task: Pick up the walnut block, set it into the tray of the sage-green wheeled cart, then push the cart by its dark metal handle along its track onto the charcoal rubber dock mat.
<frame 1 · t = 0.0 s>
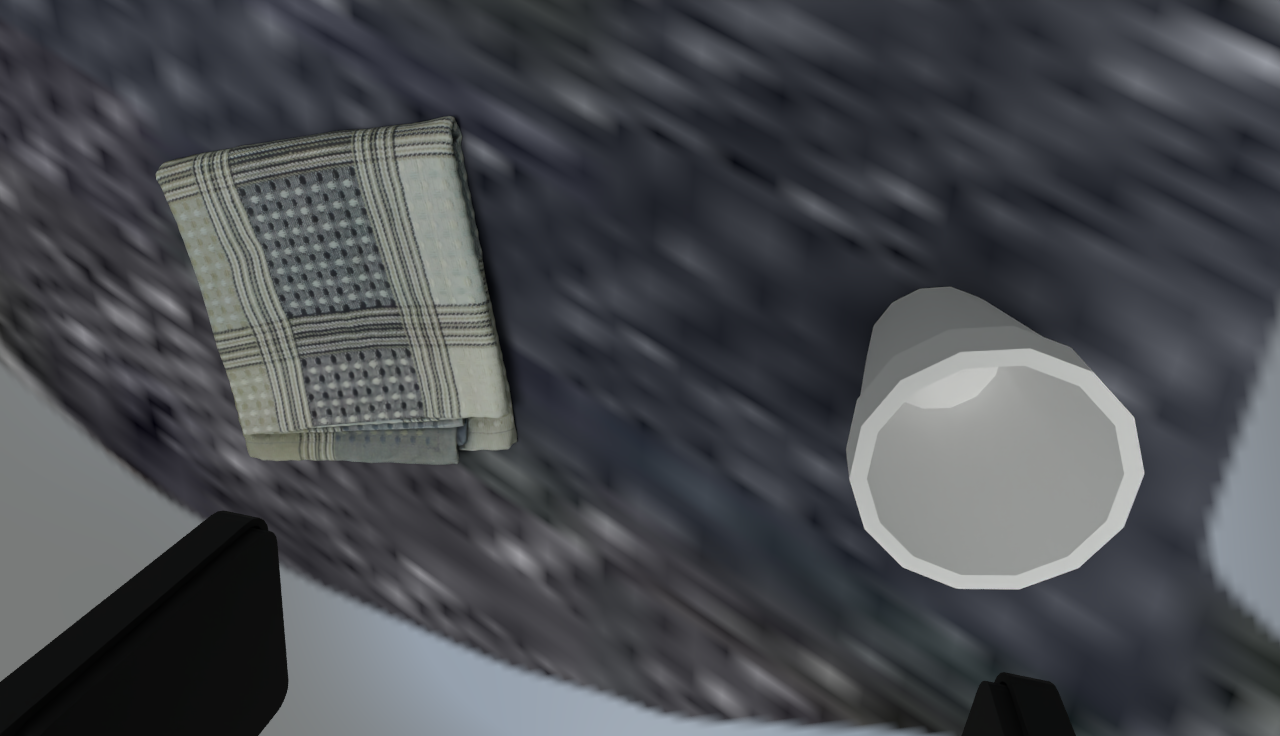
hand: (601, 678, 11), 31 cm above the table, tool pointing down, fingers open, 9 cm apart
foam cup: (934, 347, 40), on the table
dish towel: (356, 303, 46), on the table
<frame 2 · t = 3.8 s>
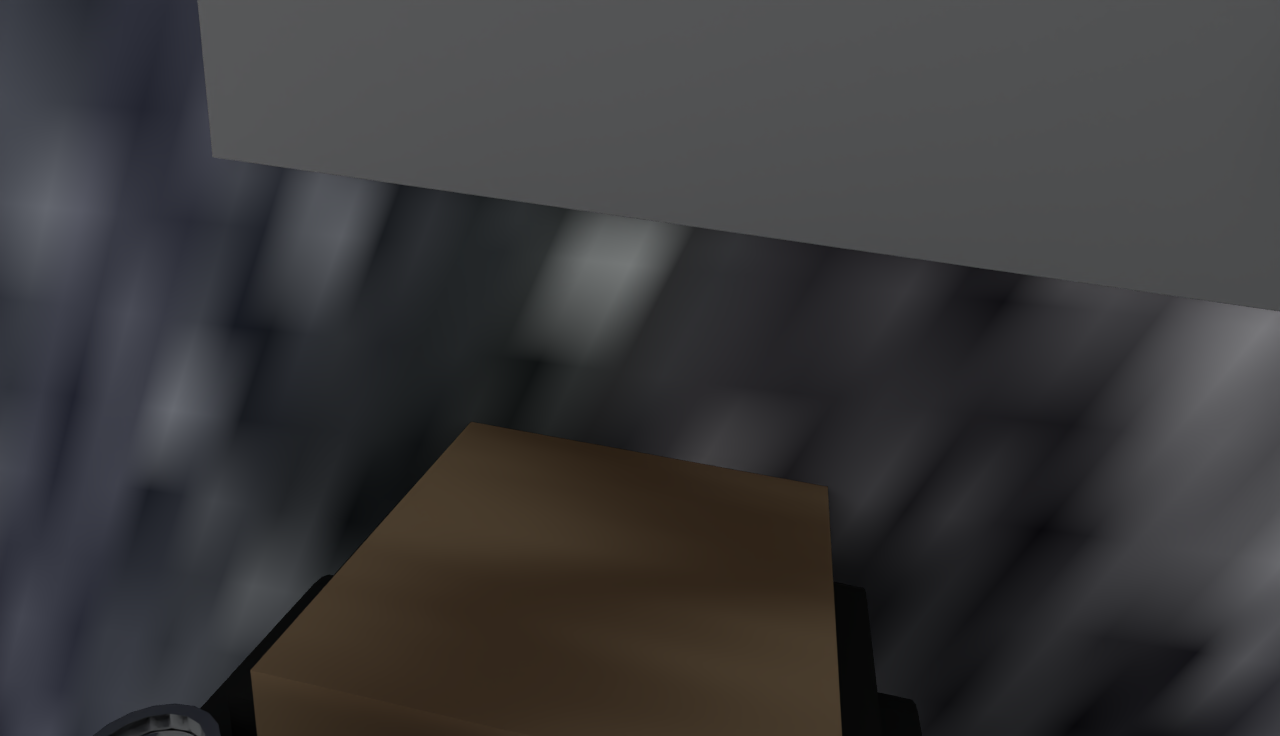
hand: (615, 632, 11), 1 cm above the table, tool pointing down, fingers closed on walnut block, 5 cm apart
walnut block: (626, 600, 12), on the table, touching gripper
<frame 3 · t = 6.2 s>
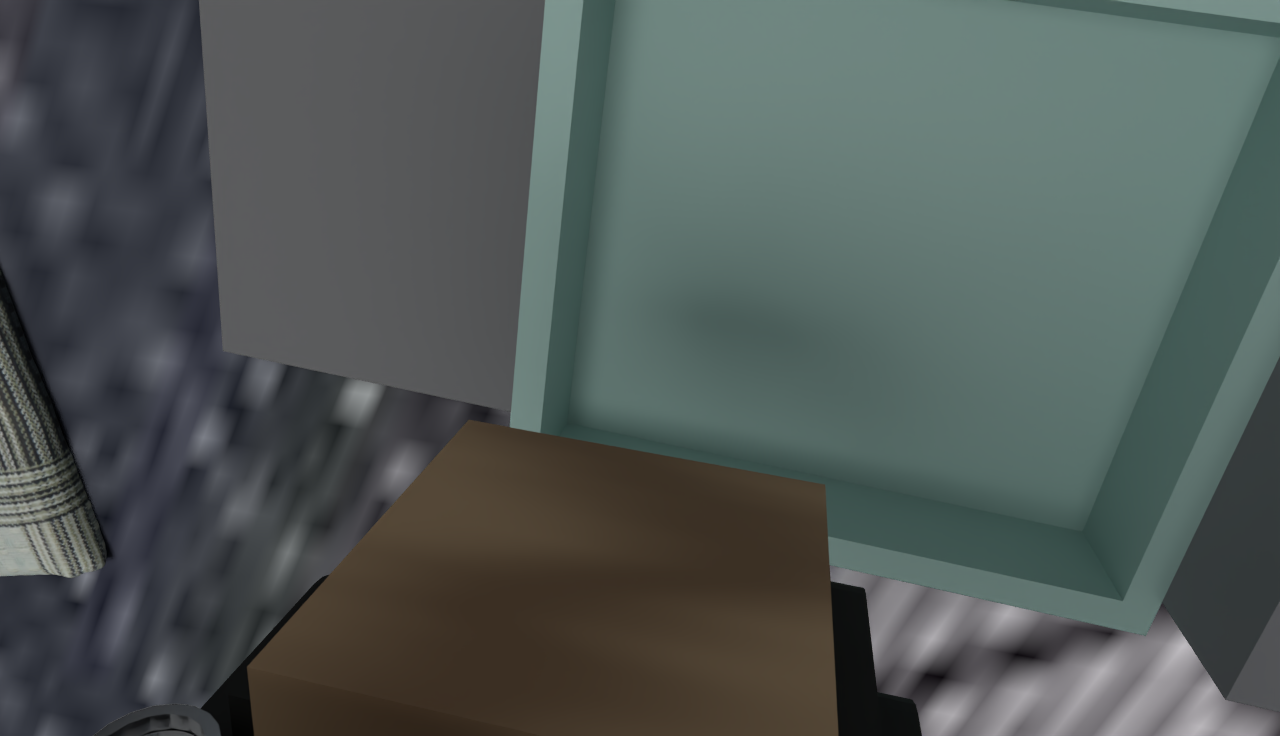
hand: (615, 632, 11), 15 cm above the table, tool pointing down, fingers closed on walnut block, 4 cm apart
dock mat: (473, 162, 25), on the table
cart: (899, 278, 19), point 5 cm above the table, slide at 0.0 cm
walnut block: (624, 598, 12), point 15 cm above the table, touching gripper
when the fingers open (6 cm above the table, at t = 8.8 s): walnut block drops 1 cm, resting on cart.
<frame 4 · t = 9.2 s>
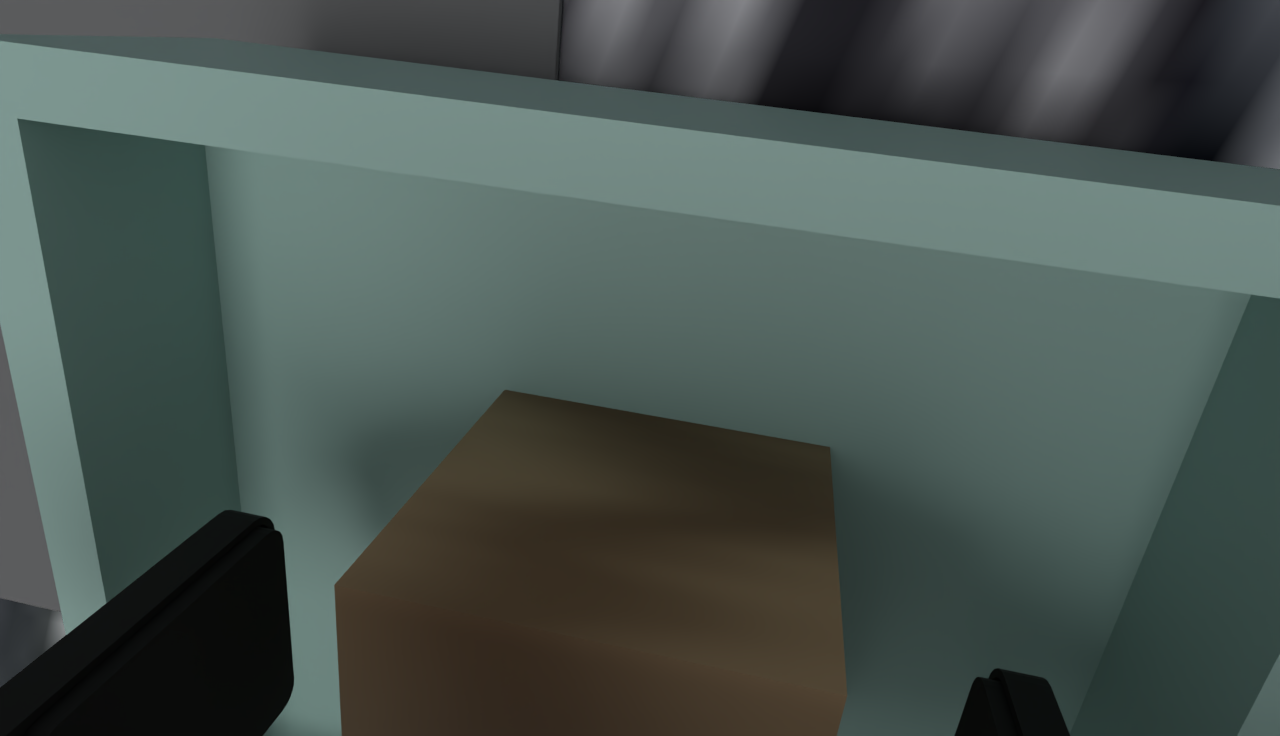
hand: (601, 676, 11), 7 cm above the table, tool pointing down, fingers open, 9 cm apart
dock mat: (155, 350, 18), on the table
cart: (665, 608, 12), point 5 cm above the table, slide at 0.0 cm, touching walnut block
walnut block: (645, 554, 13), point 4 cm above the table, touching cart
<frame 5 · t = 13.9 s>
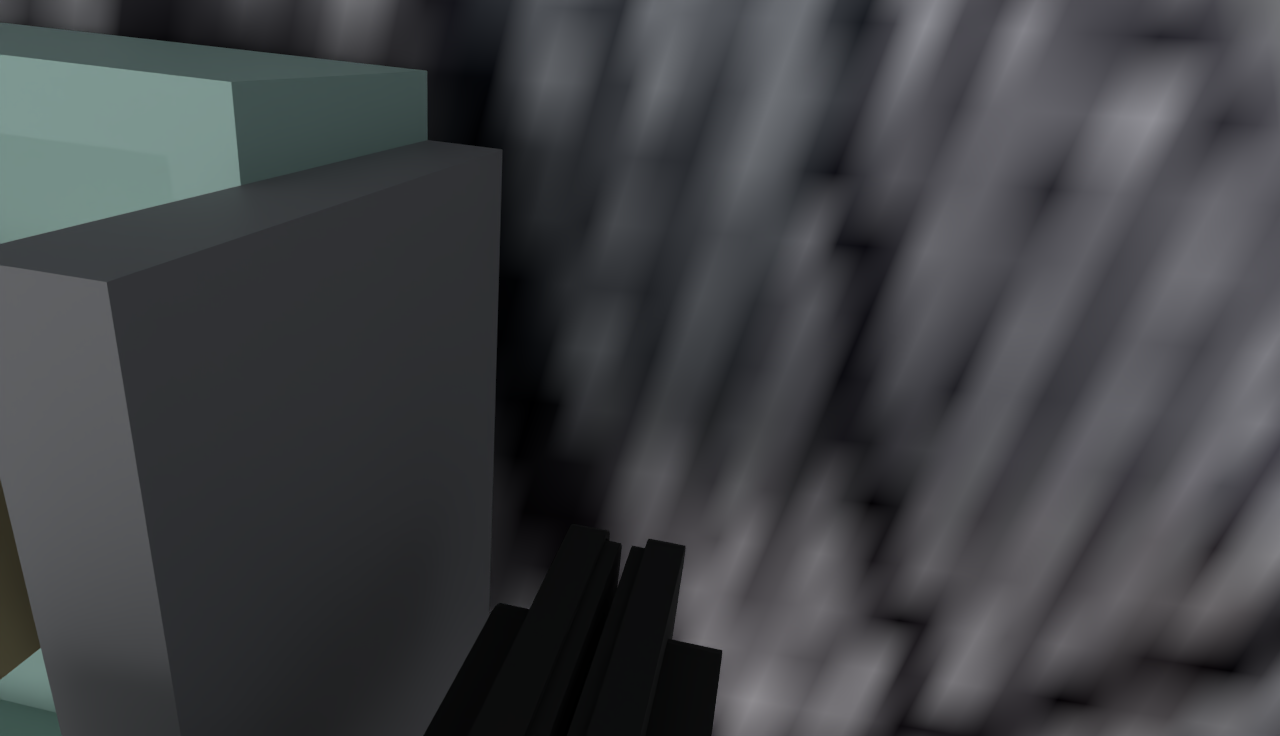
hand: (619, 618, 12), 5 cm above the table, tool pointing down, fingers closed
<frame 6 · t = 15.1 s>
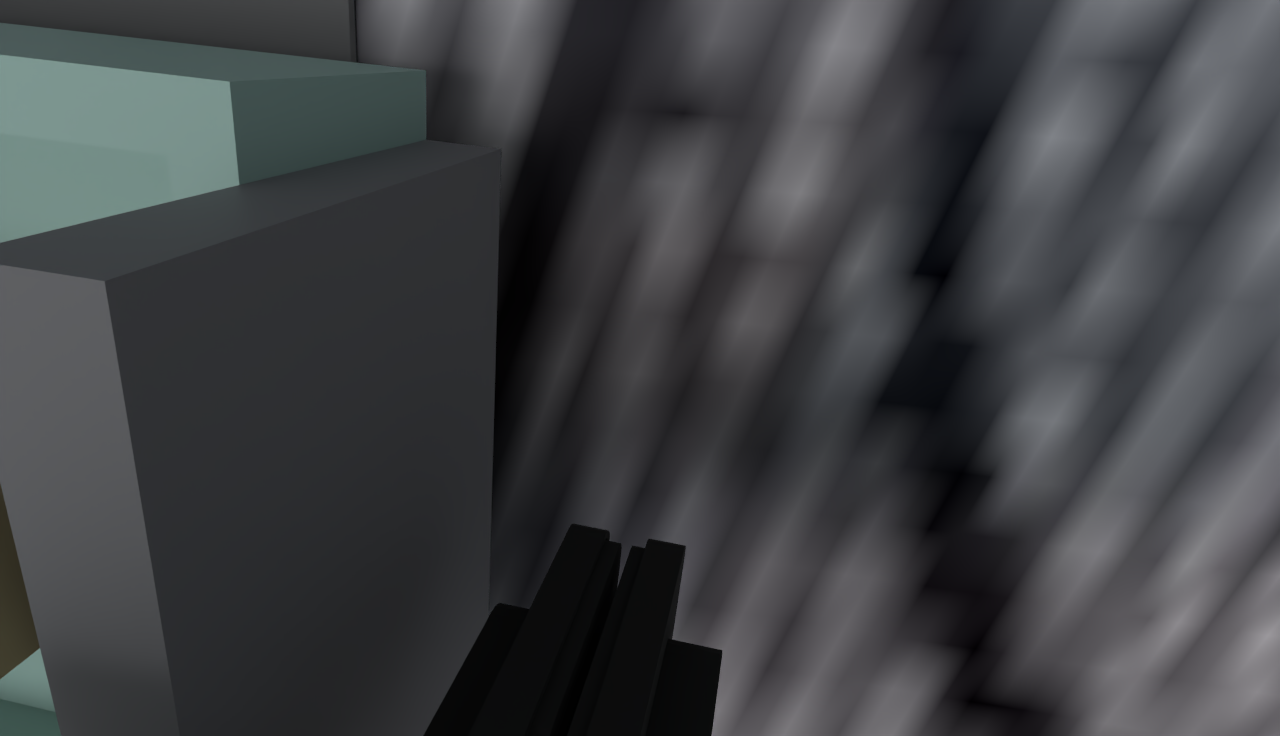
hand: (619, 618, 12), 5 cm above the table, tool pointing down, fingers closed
dock mat: (1, 340, 18), on the table
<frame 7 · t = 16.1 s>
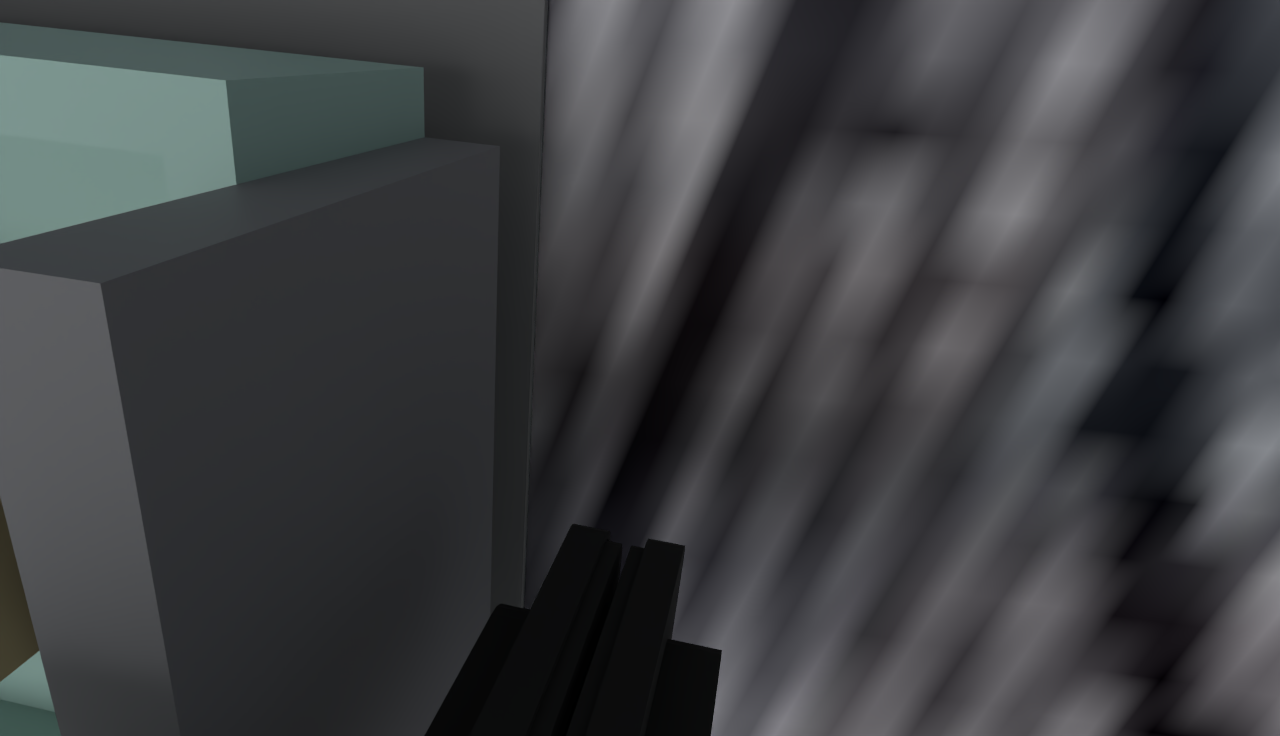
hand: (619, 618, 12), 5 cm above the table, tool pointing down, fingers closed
dock mat: (140, 364, 18), on the table
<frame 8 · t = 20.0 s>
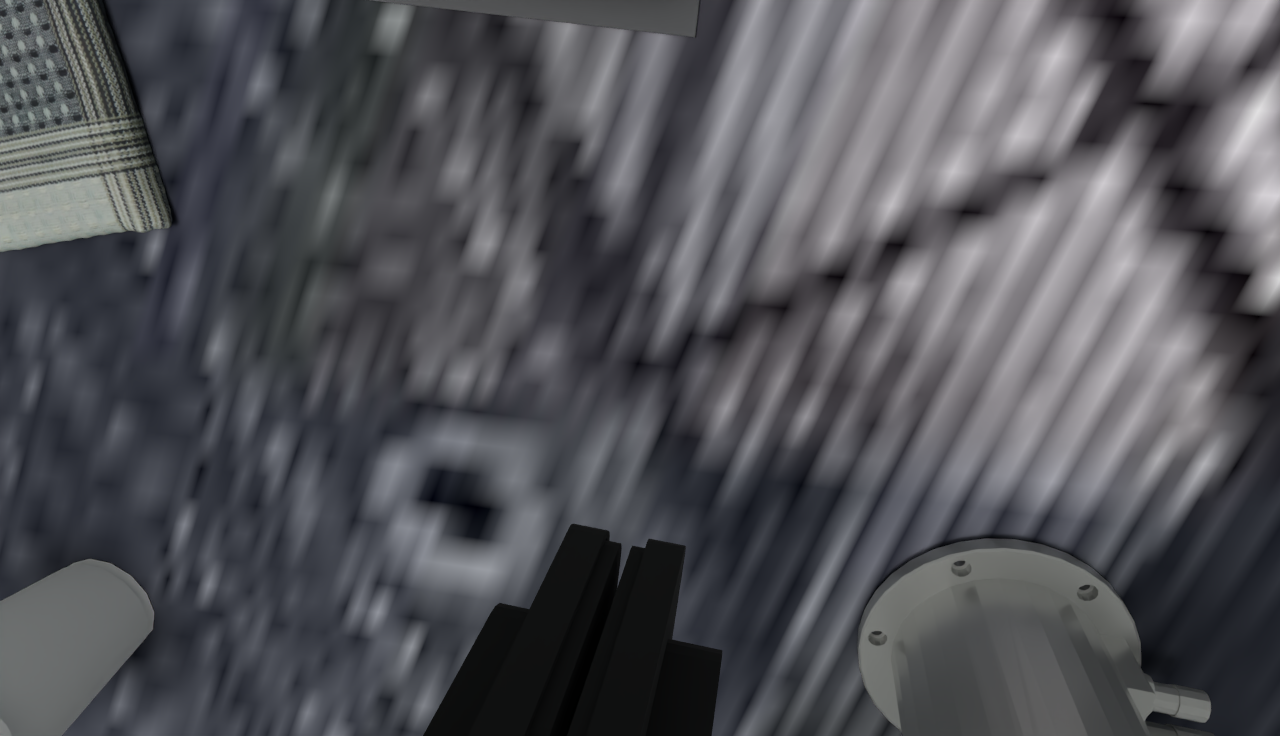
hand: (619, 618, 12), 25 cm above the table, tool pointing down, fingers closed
foam cup: (110, 600, 50), on the table
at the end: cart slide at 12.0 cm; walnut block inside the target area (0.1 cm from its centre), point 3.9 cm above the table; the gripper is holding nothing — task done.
